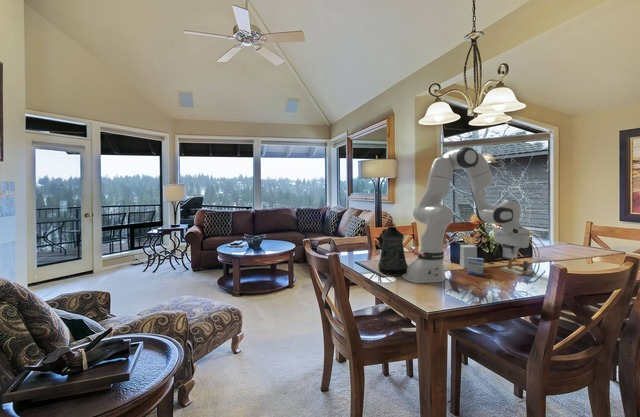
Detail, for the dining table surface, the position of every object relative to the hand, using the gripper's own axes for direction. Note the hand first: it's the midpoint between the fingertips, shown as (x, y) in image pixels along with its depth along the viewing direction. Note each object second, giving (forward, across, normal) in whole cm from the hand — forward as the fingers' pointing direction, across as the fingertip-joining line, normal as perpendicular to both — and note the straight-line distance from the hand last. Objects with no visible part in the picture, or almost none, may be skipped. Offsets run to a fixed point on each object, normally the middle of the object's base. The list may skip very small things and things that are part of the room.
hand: (510, 253), depth 182 cm
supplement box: (+10, -15, -15) cm, 24 cm away
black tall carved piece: (+10, -24, -62) cm, 67 cm away
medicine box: (+10, -2, -22) cm, 24 cm away
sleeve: (+2, 0, 0) cm, 2 cm away
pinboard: (+10, +3, +2) cm, 11 cm away
